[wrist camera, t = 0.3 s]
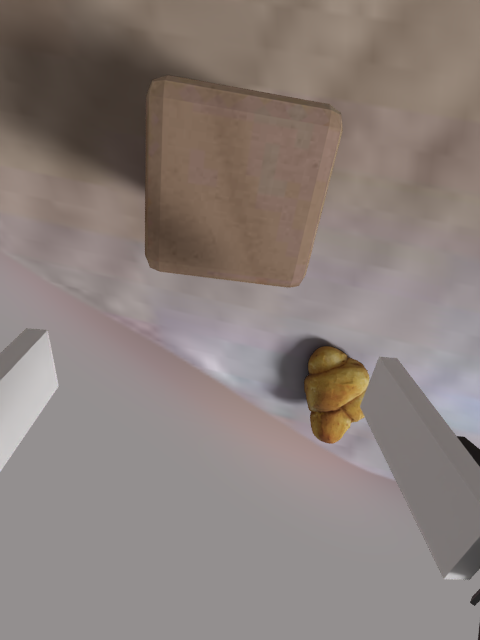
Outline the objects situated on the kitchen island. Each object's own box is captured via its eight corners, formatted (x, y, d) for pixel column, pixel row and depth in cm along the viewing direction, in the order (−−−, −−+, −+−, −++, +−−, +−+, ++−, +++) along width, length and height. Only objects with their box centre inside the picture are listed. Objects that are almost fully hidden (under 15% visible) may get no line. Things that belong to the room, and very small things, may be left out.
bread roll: (295, 345, 46) (306, 382, 39) (364, 332, 46) (388, 367, 39) (305, 411, 52) (316, 452, 45) (366, 400, 52) (387, 441, 45)
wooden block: (182, 210, 37) (141, 275, 19) (188, 105, 32) (141, 66, 15) (269, 222, 38) (305, 295, 20) (288, 123, 33) (355, 105, 16)
